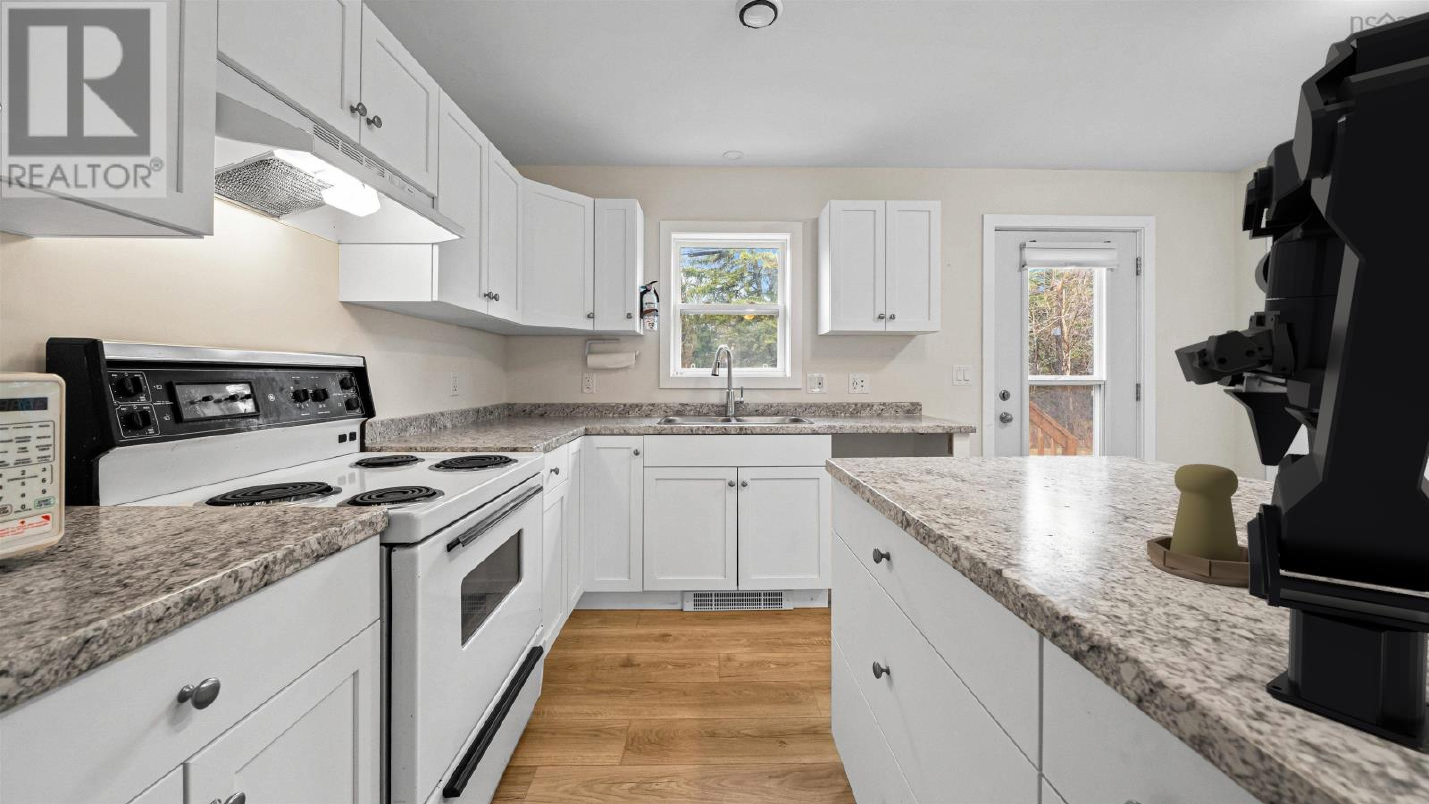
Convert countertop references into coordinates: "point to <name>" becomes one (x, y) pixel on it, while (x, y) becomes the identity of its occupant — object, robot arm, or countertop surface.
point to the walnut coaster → (1199, 564)
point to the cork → (1206, 513)
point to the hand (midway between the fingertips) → (1294, 477)
